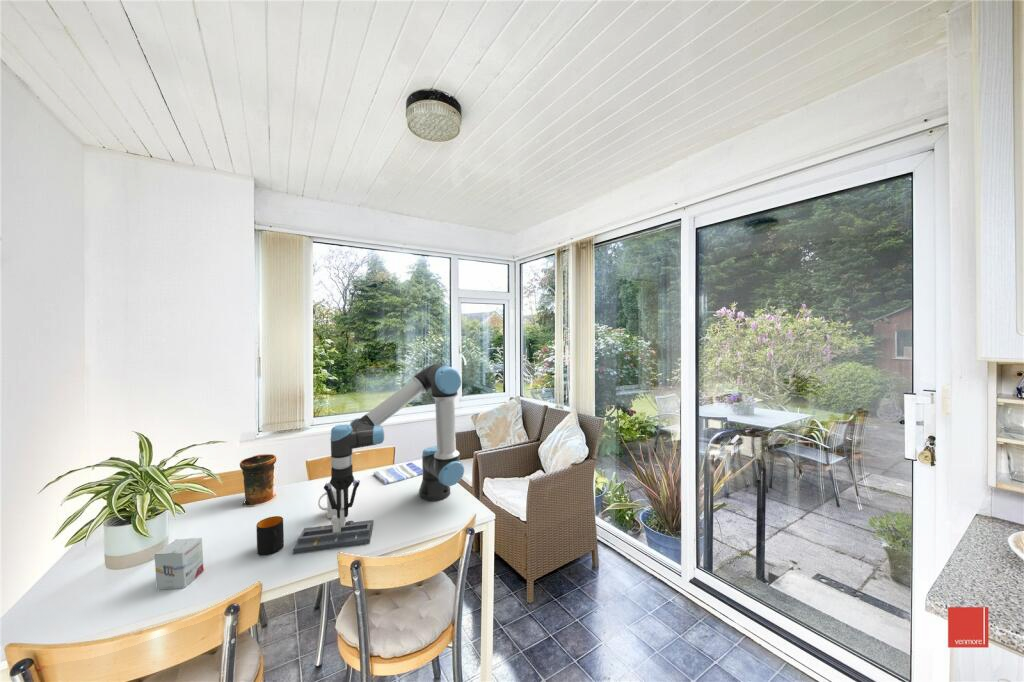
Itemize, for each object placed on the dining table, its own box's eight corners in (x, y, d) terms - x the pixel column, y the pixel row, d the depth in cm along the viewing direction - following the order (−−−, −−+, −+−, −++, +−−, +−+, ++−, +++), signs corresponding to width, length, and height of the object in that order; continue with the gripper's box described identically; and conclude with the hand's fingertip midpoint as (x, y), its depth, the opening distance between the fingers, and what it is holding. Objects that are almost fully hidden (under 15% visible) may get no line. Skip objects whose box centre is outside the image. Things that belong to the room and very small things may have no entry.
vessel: (279, 501, 172) (276, 459, 171) (241, 510, 164) (238, 467, 163) (278, 490, 184) (275, 451, 183) (242, 498, 176) (240, 457, 175)
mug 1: (263, 563, 128) (262, 534, 127) (254, 549, 136) (253, 522, 135) (290, 552, 134) (289, 525, 133) (280, 539, 142) (279, 513, 141)
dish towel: (372, 476, 203) (372, 471, 203) (412, 465, 218) (412, 461, 218) (384, 486, 190) (384, 481, 190) (426, 474, 205) (425, 469, 205)
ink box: (177, 572, 123) (176, 537, 123) (204, 570, 124) (203, 536, 124) (154, 590, 115) (153, 553, 114) (184, 588, 116) (182, 552, 115)
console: (373, 524, 153) (373, 517, 153) (369, 543, 139) (369, 535, 139) (304, 533, 146) (304, 525, 146) (293, 554, 133) (292, 545, 133)
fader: (342, 529, 145) (341, 514, 145) (340, 535, 141) (339, 519, 141) (333, 530, 144) (333, 515, 144) (331, 536, 141) (331, 520, 140)
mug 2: (319, 522, 154) (318, 494, 154) (317, 513, 162) (317, 487, 161) (349, 515, 160) (349, 488, 160) (346, 506, 168) (346, 481, 167)
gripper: (361, 460, 148) (362, 518, 149) (325, 463, 144) (326, 522, 145) (358, 467, 140) (359, 527, 141) (321, 470, 137) (322, 532, 138)
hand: (342, 524), depth 143 cm, fingers closed
